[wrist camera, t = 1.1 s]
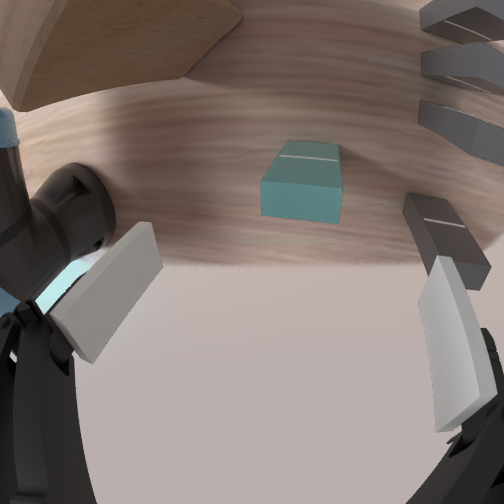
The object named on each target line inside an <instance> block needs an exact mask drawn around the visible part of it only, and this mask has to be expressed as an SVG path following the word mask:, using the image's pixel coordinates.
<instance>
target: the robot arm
mask: <svg viewBox="0 0 504 504" xmlns="http://www.w3.org/2000/svg"><path fill="white" fill-rule="evenodd" d="M19 144H20V140H19V139H18V137H17V131H16V124H15V118H14V114H13V112H12V111H11V110H10V109H8V108H5V107H1V108H0V504H97V502H96V499H95V496H94V493H93V489H92V485H91V481H90V477H89V473H88V469H87V464H86V460H85V455H84V450H83V444H82V438H81V433H80V426H79V418H78V409H77V399H76V387H75V368H74V358H73V356H72V352H73V351H74V350H75V351H76V353H77V354H78V355H79V357H80V358H81V359H83V360H85V361H87V362H89V363H91V364H93V363H94V362H95V360H96V359H97V357H98V356H99V354H100V353H101V351H102V350H103V349H104V347H105V345H106V344H107V343H108V341H109V340H110V338H111V337H112V336H113V334H114V333H115V331H116V330H117V328H118V327H119V326H120V324H121V323H122V321H123V320H124V319H125V317H126V316H127V314H128V313H129V312H130V310H131V309H132V308H133V306H134V305H135V304H136V302H137V301H138V299H139V298H140V297H141V295H142V294H143V293H144V291H145V290H146V289H147V287H148V286H149V285H150V283H151V282H152V281H153V280H154V278H155V277H156V276H157V274H158V273H159V272H160V270H161V269H162V268H163V266H162V262H161V258H160V255H159V251H158V247H157V243H156V239H155V235H154V231H153V227H152V223H151V222H142V221H139V222H138V223H137V224H136V225H135V226H133V227H132V228H131V229H130V230H129V231H128V232H127V233H126V234H125V235H124V236H123V237H122V238H121V239H120V240H119V241H117V242H116V243H115V244H114V245H113V246H112V247H111V248H110V249H109V250H108V251H107V252H106V253H105V254H104V255H103V256H102V257H101V258H100V259H99V260H98V261H97V262H96V263H95V264H94V265H93V266H92V267H91V268H90V269H89V271H87V272H85V273H84V274H82V275H81V276H79V277H78V278H77V279H76V280H75V281H74V282H73V283H72V284H71V287H69V288H68V289H67V290H66V292H65V293H63V294H62V295H61V296H60V298H59V299H58V300H57V301H56V302H55V303H54V304H53V306H52V307H51V308H50V309H49V310H48V311H47V312H46V314H45V315H43V313H42V311H41V310H40V308H39V307H38V305H37V303H36V302H35V300H36V299H37V298H38V296H39V295H40V294H41V293H42V292H43V291H44V290H45V289H46V288H47V287H48V285H49V284H50V283H51V282H52V281H53V280H54V279H55V278H56V277H57V276H58V275H59V274H60V273H61V271H63V269H65V268H66V267H67V265H69V264H70V263H71V262H72V261H74V260H77V259H79V258H81V257H84V256H86V255H89V254H91V253H93V252H96V251H98V250H100V249H101V248H102V247H103V246H104V245H105V244H106V243H108V242H109V241H110V239H111V238H112V236H113V234H114V230H115V215H114V210H113V206H112V203H111V200H110V198H109V196H108V193H107V192H106V190H105V188H104V186H103V185H102V183H101V182H100V181H99V179H98V178H97V177H96V176H95V175H94V174H93V173H92V172H91V171H90V170H88V169H87V168H85V167H84V166H81V165H79V164H74V163H71V164H66V165H64V166H62V167H61V168H59V169H57V170H56V171H54V172H53V173H52V174H51V175H50V176H49V177H48V179H47V180H46V181H45V182H44V184H43V185H42V186H41V187H40V188H39V190H38V191H37V192H36V194H35V195H34V196H33V197H32V198H31V199H30V200H29V196H28V192H27V188H26V183H25V179H24V174H23V169H22V163H21V158H20V152H19ZM418 305H419V309H420V314H421V318H422V323H423V328H424V333H425V338H426V344H427V350H428V356H429V363H430V370H431V379H432V387H433V398H434V411H435V432H446V431H453V430H454V429H455V428H457V427H458V426H459V425H461V426H462V431H461V432H460V433H458V434H457V435H456V436H454V437H452V438H451V439H450V440H449V441H448V442H447V444H449V443H451V442H453V441H454V442H453V443H452V445H451V446H450V448H449V449H448V451H447V452H446V454H445V455H444V457H443V458H442V460H441V461H440V462H439V464H438V465H437V466H436V468H435V469H434V471H433V472H432V473H431V474H430V476H429V477H428V478H427V479H426V481H425V482H424V483H423V485H422V486H421V487H420V488H419V489H418V490H417V491H416V493H415V494H414V495H413V496H412V497H411V498H410V500H409V501H408V502H407V503H406V504H504V374H503V370H502V366H501V363H500V361H499V355H498V353H497V352H496V346H495V342H494V339H493V337H492V336H491V334H490V333H489V331H488V330H487V329H486V328H480V326H479V323H478V320H477V317H476V315H475V312H474V309H473V307H472V304H471V301H470V299H469V296H468V294H467V291H466V289H465V287H464V284H463V282H462V280H461V277H460V275H459V273H458V271H457V269H456V266H455V264H454V262H453V260H452V258H451V257H446V256H439V255H437V257H436V259H435V262H434V265H433V267H432V270H431V272H430V275H429V277H428V280H427V282H426V285H425V287H424V289H423V292H422V294H421V296H420V298H419V300H418ZM11 351H12V352H13V353H14V355H15V356H16V357H17V362H16V363H15V362H14V361H13V360H12V359H11V358H10V353H11Z"/></svg>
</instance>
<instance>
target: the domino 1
mask: <svg viewBox="0 0 504 504" xmlns="http://www.w3.org/2000/svg"><path fill="white" fill-rule="evenodd" d="M342 192H343V186H342V175H341V166H340V157H339V149H338V145H335V144H325V143H315V142H302V141H287V143H286V144H285V146H284V147H283V149H282V150H281V151H280V153H279V154H278V156H277V157H276V159H275V160H274V162H273V163H272V165H271V166H270V168H269V169H268V171H267V172H266V174H265V175H264V177H263V178H262V180H261V216H270V217H280V218H290V219H299V220H308V221H317V222H325V223H334V224H338V223H339V216H340V208H341V200H342Z"/></svg>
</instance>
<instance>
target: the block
mask: <svg viewBox="0 0 504 504" xmlns="http://www.w3.org/2000/svg"><path fill="white" fill-rule="evenodd" d="M242 18H243V15H242V13H241V11H240V9H238V8H237V7H236V6H235V5H233V4H232V3H231V2H230V1H228V0H0V89H1V90H2V92H3V94H4V95H5V97H6V98H7V100H8V102H9V103H10V105H11V106H12V108H13V109H14V110H16V111H18V112H29V111H32V110H35V109H37V108H40V107H43V106H46V105H49V104H52V103H56V102H59V101H62V100H66V99H69V98H73V97H76V96H80V95H84V94H88V93H92V92H97V91H101V90H106V89H111V88H116V87H121V86H127V85H133V84H139V83H146V82H154V81H162V80H172V79H179V78H181V77H183V76H184V75H185V74H186V73H187V72H188V71H189V70H190V69H191V68H192V67H193V66H194V65H195V64H196V63H197V62H198V61H199V60H200V59H201V58H202V57H203V56H204V55H205V54H206V53H207V52H208V51H209V50H210V49H211V48H212V47H213V46H214V45H215V44H216V43H217V42H218V41H219V40H220V39H221V38H222V37H223V36H224V35H226V34H227V33H228V32H229V31H230V30H231V29H232V28H233V27H235V26H236V25H237V24H238V23H239V22H240V21H241V19H242Z"/></svg>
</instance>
